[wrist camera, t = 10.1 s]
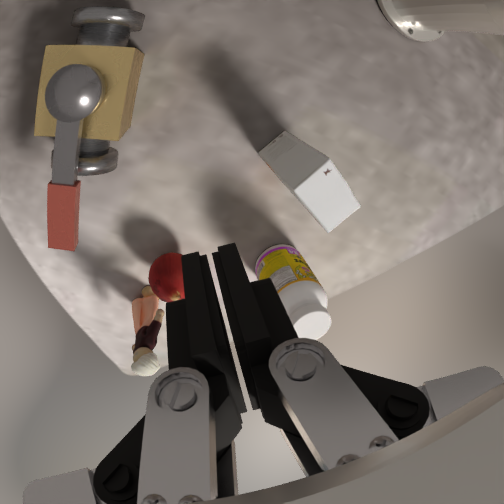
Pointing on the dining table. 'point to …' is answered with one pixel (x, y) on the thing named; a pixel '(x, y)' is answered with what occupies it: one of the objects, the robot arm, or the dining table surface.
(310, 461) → the robot arm
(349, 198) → the skincare box
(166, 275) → the onion
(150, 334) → the grandmother figurine
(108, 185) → the dining table surface
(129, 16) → the valve
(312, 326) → the supplement bottle
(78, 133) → the lever
